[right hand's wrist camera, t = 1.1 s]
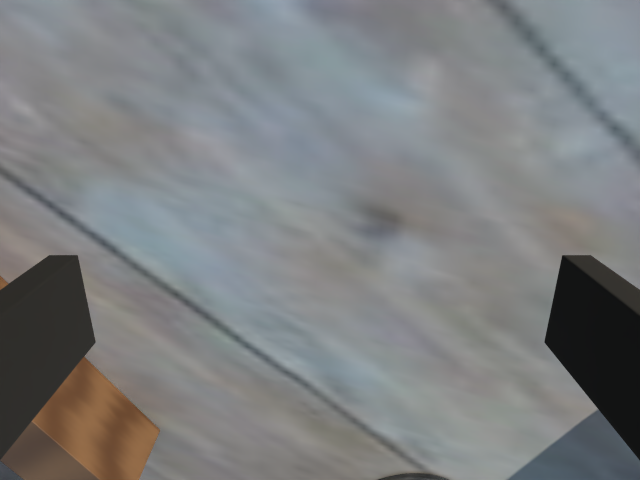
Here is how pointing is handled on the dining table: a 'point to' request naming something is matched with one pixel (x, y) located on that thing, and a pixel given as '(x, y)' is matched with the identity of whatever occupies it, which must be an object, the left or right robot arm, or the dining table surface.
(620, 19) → the dining table surface
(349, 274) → the dining table surface
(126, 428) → the beam
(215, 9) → the dining table surface
